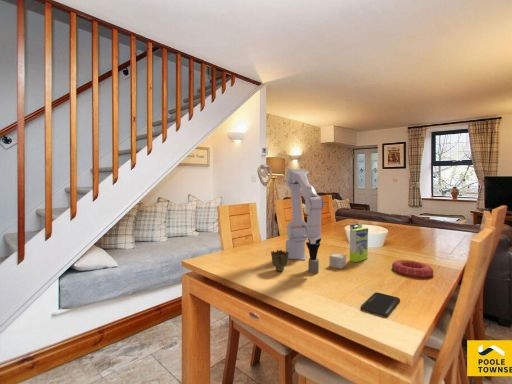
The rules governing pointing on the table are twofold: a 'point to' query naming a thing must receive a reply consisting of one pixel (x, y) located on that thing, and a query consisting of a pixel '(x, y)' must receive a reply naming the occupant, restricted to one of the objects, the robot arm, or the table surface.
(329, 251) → the table surface
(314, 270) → the charcoal block
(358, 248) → the box
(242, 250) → the table surface
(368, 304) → the phone
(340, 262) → the small box
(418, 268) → the torus
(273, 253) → the cup
